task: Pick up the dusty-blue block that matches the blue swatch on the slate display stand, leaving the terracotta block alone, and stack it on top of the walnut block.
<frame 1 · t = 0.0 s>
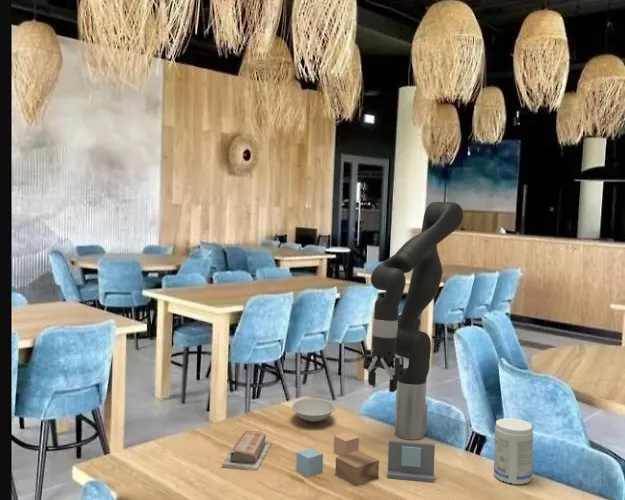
hand: (381, 388, 180), 17 cm above the table, tool pointing down, fingers open, 8 cm apart
terracotta block: (346, 453, 174), on the table
packaged product: (247, 458, 170), on the table
walnut block: (356, 477, 159), on the table
supplement tub: (511, 478, 160), on the table
dish: (313, 421, 200), on the table
blue block: (309, 471, 161), on the table
display stand: (410, 475, 160), on the table
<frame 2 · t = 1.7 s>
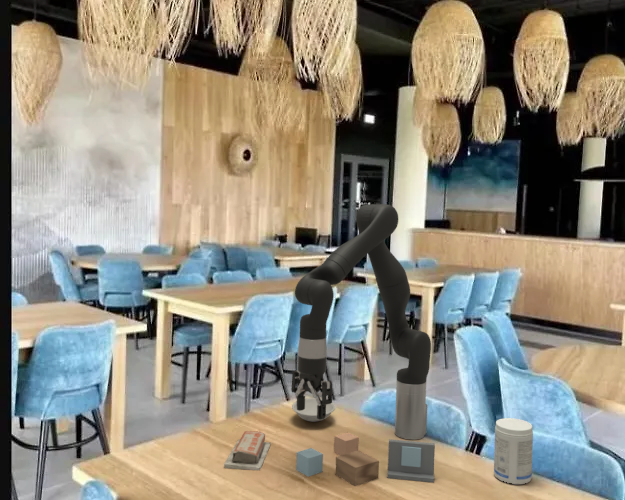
hand: (310, 414, 160), 15 cm above the table, tool pointing down, fingers open, 8 cm apart
nothing on the table moved.
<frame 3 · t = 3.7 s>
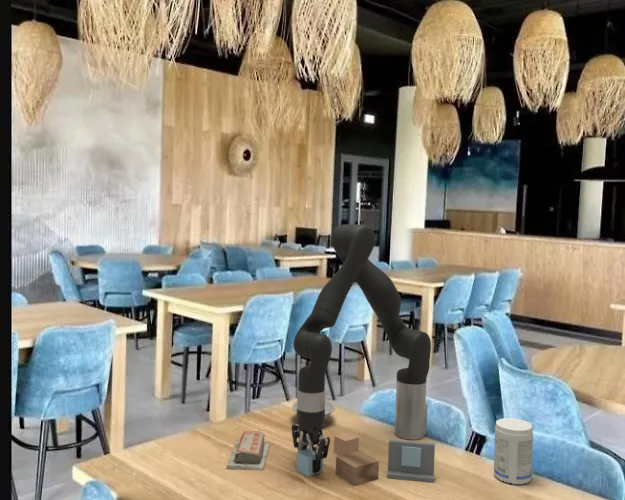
hand: (309, 468, 161), 1 cm above the table, tool pointing down, fingers closed on blue block, 5 cm apart
blue block: (309, 470, 161), on the table, touching gripper
everything else where it was.
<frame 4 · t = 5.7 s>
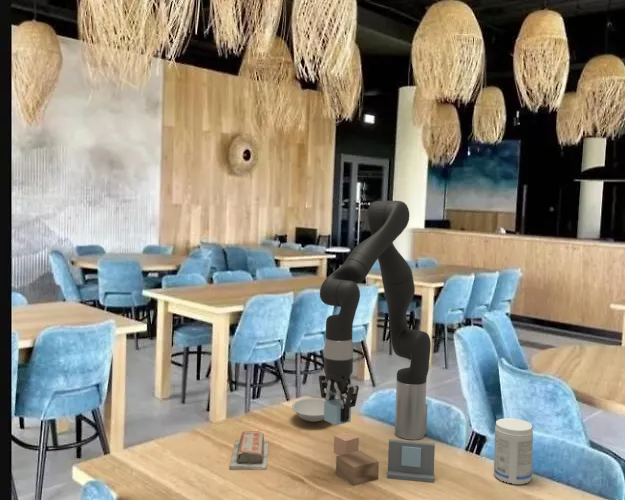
hand: (337, 418, 160), 15 cm above the table, tool pointing down, fingers closed on blue block, 5 cm apart
blue block: (337, 420, 160), point 14 cm above the table, touching gripper
when the fingers open (7 cm above the table, at t = 7.7 s): blue block drops 2 cm, point 5 cm above the table.
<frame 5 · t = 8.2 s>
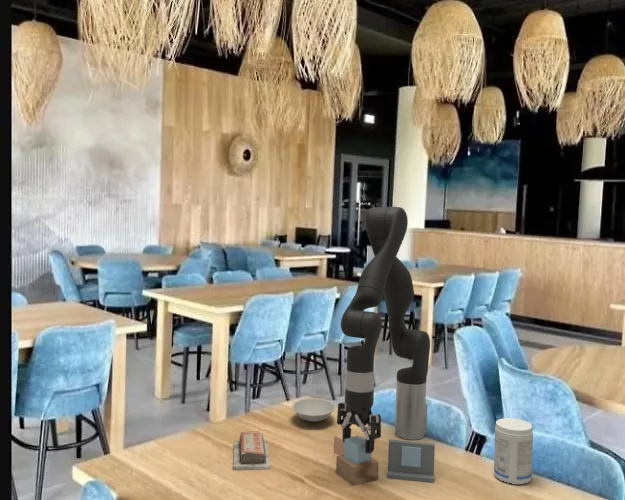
hand: (357, 447, 158), 8 cm above the table, tool pointing down, fingers open, 8 cm apart
blue block: (357, 458, 158), point 5 cm above the table
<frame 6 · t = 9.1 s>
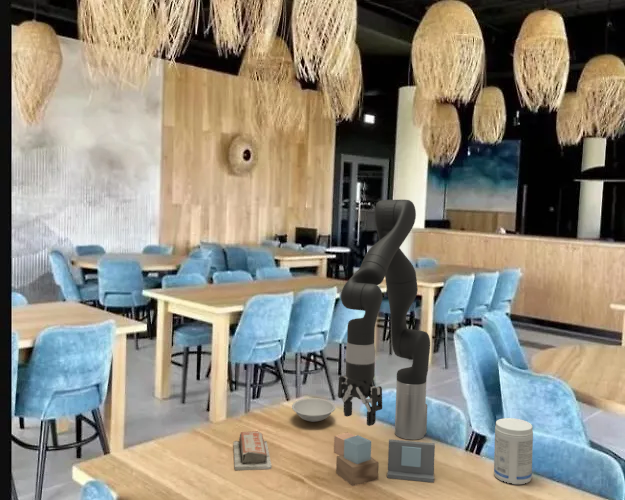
hand: (359, 420, 158), 15 cm above the table, tool pointing down, fingers open, 8 cm apart
walnut block: (356, 477, 159), on the table, touching blue block
blue block: (357, 458, 159), point 5 cm above the table, touching walnut block
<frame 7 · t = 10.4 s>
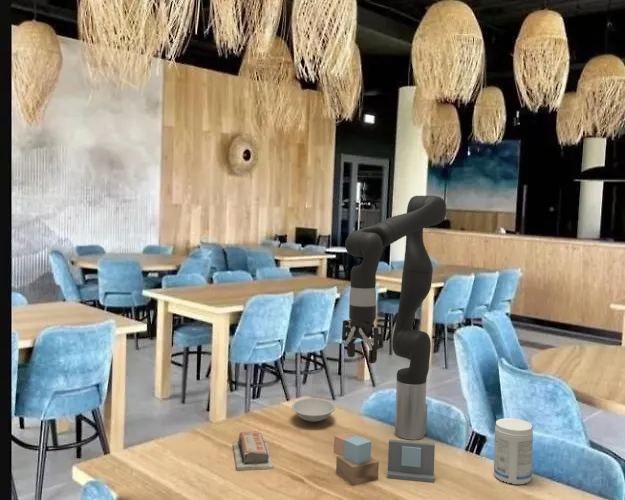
hand: (361, 359, 171), 28 cm above the table, tool pointing down, fingers open, 8 cm apart
walnut block: (356, 477, 159), on the table
blue block: (357, 459, 158), point 5 cm above the table
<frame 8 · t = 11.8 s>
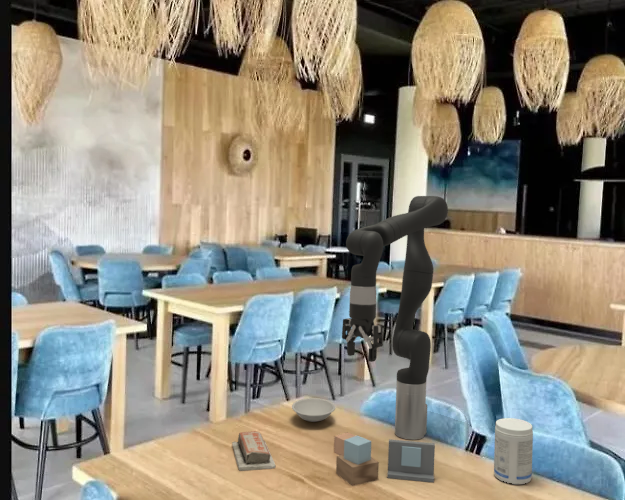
hand: (361, 358, 171), 28 cm above the table, tool pointing down, fingers open, 8 cm apart
at the end: blue block 0.1 cm off-centre on the walnut block, point 5.0 cm above the walnut block's base; blue block tilted 0°; terracotta block moved 0.1 cm from its start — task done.
